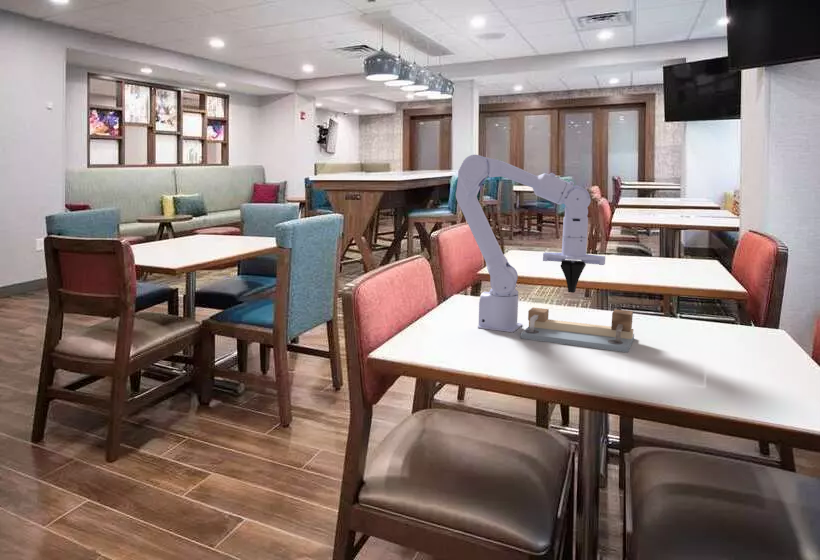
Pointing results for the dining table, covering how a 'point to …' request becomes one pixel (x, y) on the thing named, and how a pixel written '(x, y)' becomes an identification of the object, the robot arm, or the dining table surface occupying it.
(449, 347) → the dining table surface
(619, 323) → the slider
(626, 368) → the dining table surface
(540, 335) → the gauge board
